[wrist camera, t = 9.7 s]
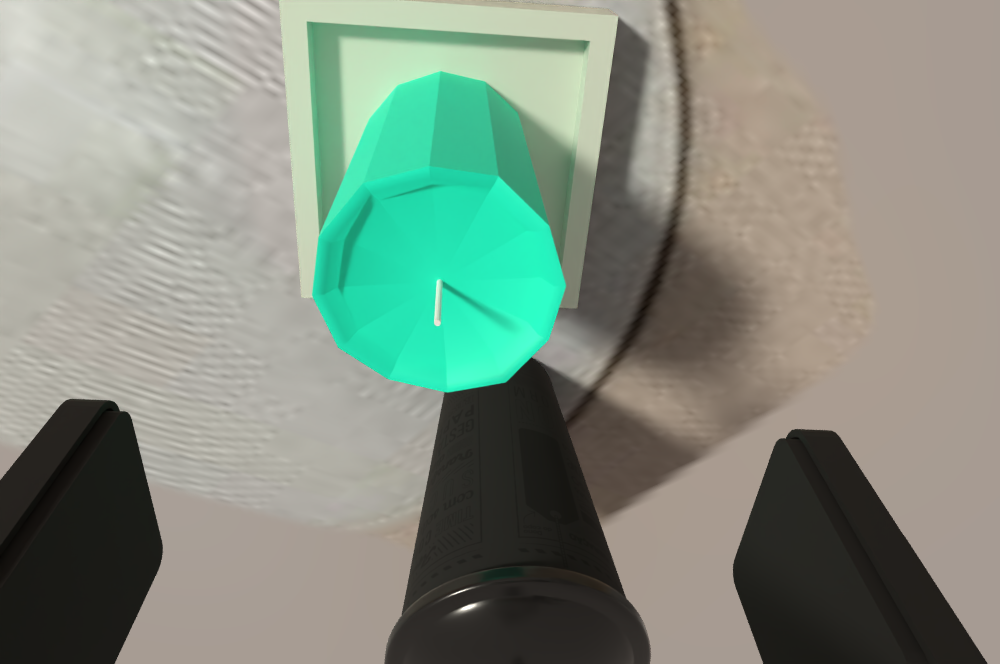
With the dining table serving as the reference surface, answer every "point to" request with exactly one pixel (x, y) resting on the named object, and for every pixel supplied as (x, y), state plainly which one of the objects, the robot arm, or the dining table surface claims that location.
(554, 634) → the drinking cup
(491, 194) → the candle
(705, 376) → the dining table surface
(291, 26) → the tray
